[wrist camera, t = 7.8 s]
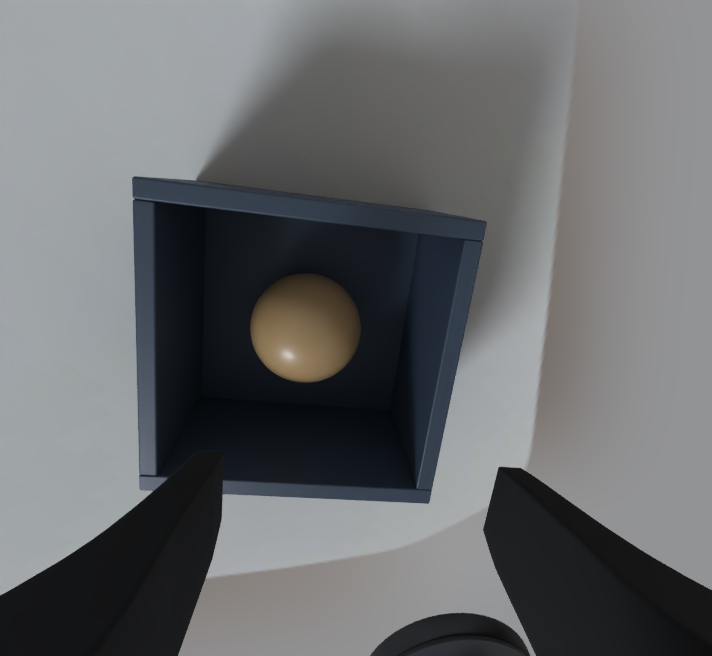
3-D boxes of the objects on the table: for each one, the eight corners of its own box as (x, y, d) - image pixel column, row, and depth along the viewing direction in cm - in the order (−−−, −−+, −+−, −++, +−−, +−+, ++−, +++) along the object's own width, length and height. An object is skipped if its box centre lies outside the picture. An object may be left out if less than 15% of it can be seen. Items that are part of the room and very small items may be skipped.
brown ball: (349, 362, 21) (358, 406, 16) (254, 354, 20) (239, 398, 16) (360, 270, 19) (375, 292, 15) (260, 259, 19) (245, 279, 15)
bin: (398, 417, 22) (429, 504, 16) (190, 403, 21) (139, 490, 15) (433, 211, 19) (487, 221, 13) (194, 180, 18) (130, 175, 12)
